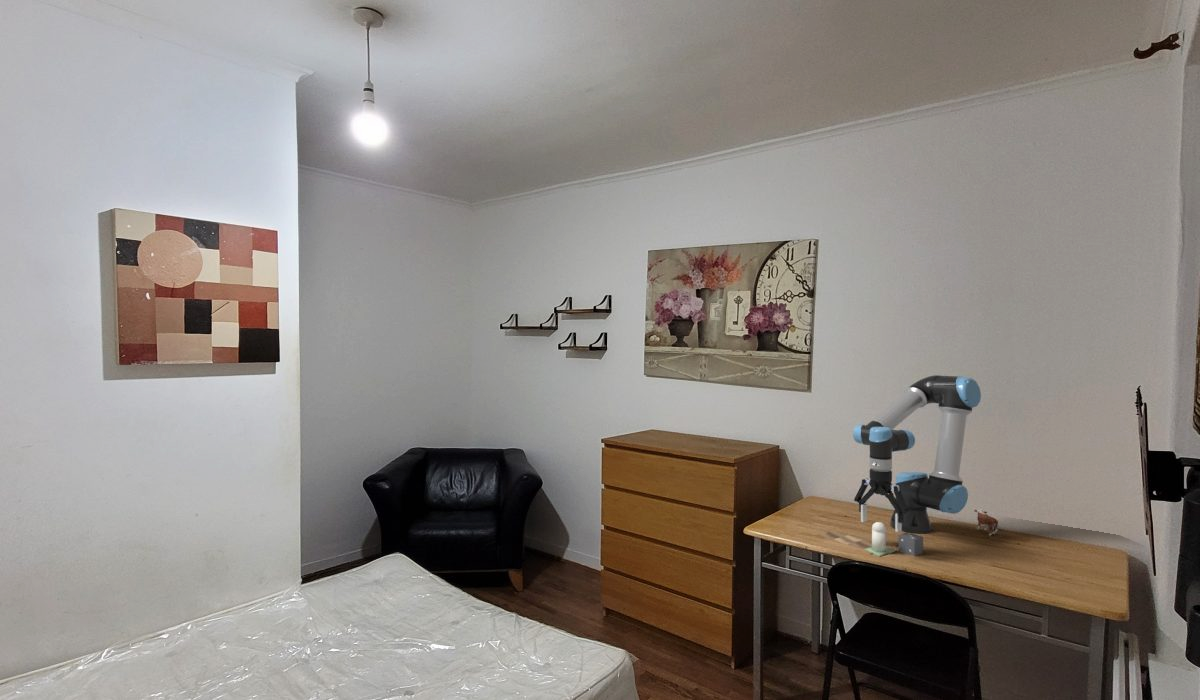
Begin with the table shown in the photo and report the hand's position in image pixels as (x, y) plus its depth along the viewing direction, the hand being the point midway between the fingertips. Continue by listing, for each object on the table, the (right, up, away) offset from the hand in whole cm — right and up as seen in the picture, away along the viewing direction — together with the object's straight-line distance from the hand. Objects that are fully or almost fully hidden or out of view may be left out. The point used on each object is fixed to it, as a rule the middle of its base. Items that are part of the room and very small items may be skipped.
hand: (880, 526), depth 220 cm
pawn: (-1, -9, 0) cm, 9 cm away
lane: (-6, -9, +8) cm, 13 cm away
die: (+11, -10, 0) cm, 14 cm away
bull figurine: (+55, -10, +25) cm, 61 cm away
